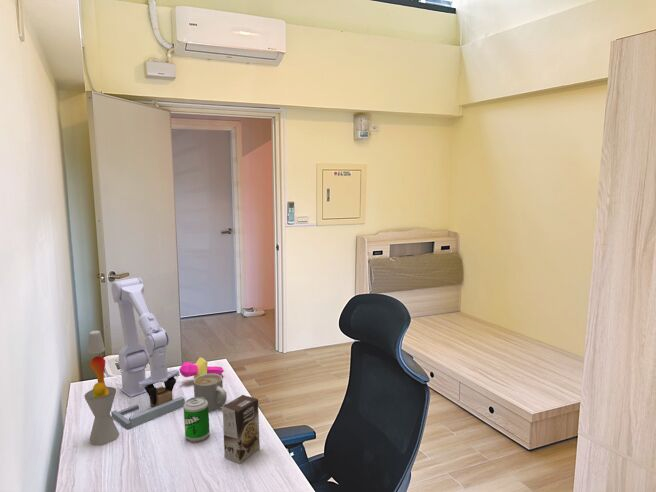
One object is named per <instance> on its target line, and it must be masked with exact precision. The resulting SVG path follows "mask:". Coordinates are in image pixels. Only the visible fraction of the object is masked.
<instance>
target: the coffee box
mask: <svg viewBox="0 0 656 492" xmlns="http://www.w3.org/2000/svg"><path fill="white" fill-rule="evenodd" d="M259 414H260V413H259V399H258V398H256V397H253V396H252V397H251V396H247V395H245V394H242V395H240V396H239V397H237V398H235V399H233V400H231V401H230V402H228V403H226V404H223V406H222V422H223V426H222V427H223V447H224V448H223V450H224V458H226V459H228V460H231V461H233V462H234V463H235V462H236V463H237V464H241V463H243V462H244V461H246V460H247V459H248V458H249V457H250V456H252V455H253V454H254V453H256V452H257V451H258V450H260V448H261V447H260V445H261V444H260V443H261V442H260V419H259V418H260V416H259Z"/></svg>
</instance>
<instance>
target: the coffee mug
mask: <svg viewBox="0 0 656 492" xmlns="http://www.w3.org/2000/svg"><path fill="white" fill-rule="evenodd" d="M193 393H194V394H193V395H194V397H203V398H204V399H205V400H207V401H208V412H209V413H211V412H216V411H218V410H221V408H223V406H224V405H225V403H227V391H226V390H225V388H224V387H223V376H222V374H220V375H219V374H204V375H200V376H198V377H196V378H195V379H194V378H193Z"/></svg>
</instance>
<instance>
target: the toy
mask: <svg viewBox="0 0 656 492" xmlns="http://www.w3.org/2000/svg"><path fill="white" fill-rule="evenodd" d="M178 371H179V374H180V375H181V376H182V377H184V378H190V377H193V380H194V379H195V378H196V377H198V376H200V375H204V374H219V375H222V374H223V373H224V372H225V370H224V369H223V367H222V366H218V365H217V366H208V361H207V360H205V358H203V357H201V356H200V357H199V358H198V360H197V361H196V362H195V363H192V362H188V361H186V362H183V363H182V364H181V365H180V367H179V369H178Z"/></svg>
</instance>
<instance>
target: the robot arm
mask: <svg viewBox="0 0 656 492" xmlns="http://www.w3.org/2000/svg"><path fill="white" fill-rule="evenodd" d="M111 293H112V299H113V302H114V303H116V304H118V310H119V316H120V322H121V323H120V324H121V329H122V335H123V336H122V337H123V340H124V345H123V346H122V347H121V349H120V350H119V351H118V360H117V361H118V366H119V369H120V370H121V384H122V386H121V388H120V391H121V392H123V393H124V394H126V396H129V397H131V398H133V397H135V396H138V395H141V394H144V393H146V394H147V395H148V397H149V401H150V400H151V403H152V404H153V405H155V404H156V389H157V388H158V387H156V386H155V384H157V383H163V384H164V388H166V389H168V390H170V391H171V392H172V393H173V390H174V386H175V384H176V382H177V378H178V377H179V376H180V375H181V373H180V370H179V369H173V370H170V371H168V357H167V346H169V343H170V338H169V334H168V332H167V331H166V330H165V329H164V328H163V327H162V326H161V325H160V324H159V321H158V320H157V317H156V316H155V314H154V313H151V312H150V311H149V308H148V305H147V302H146V300H145V297H144V293H145V285H144V281H143V279H142V278H141V277H140V276H139V277H138V276H136V277H133V278H126V279H120V280H115V281H113V283H112V284H111ZM135 311H136V313H137V316H139V319H138V324H139V326H140V328H141V330H142V333H143V334H144V337H145V338H144V344H145V345H144V344H142V343H140V341H139V335H138V331H137V330H138V329H137V328H138V327H137V323H136V322H137V321H136V318H135ZM147 365H149V369H150V370H149V371H150V372H149V373H150V376H149V377H147V378H146V368H147ZM175 377H177V378H175Z"/></svg>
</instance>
